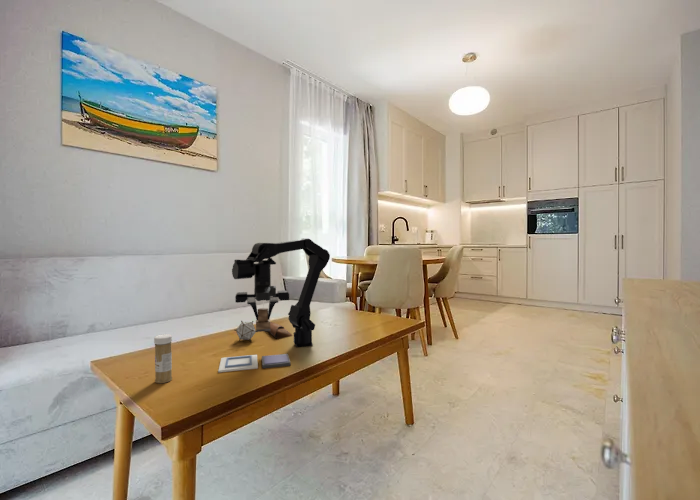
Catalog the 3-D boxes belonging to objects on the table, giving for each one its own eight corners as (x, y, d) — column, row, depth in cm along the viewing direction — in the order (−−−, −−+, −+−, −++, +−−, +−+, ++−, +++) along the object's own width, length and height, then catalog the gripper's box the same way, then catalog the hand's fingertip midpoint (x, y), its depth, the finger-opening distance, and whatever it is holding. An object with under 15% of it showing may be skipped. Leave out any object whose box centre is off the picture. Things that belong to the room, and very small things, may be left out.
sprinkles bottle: (152, 381, 101) (151, 336, 101) (168, 376, 105) (167, 332, 104) (158, 385, 98) (157, 339, 98) (175, 380, 102) (174, 335, 101)
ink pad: (287, 356, 122) (287, 353, 122) (290, 365, 113) (290, 361, 113) (261, 359, 119) (261, 355, 119) (262, 368, 111) (262, 364, 111)
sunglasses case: (294, 335, 147) (286, 323, 146) (280, 346, 145) (272, 334, 143) (280, 326, 163) (273, 315, 161) (268, 336, 160) (260, 324, 158)
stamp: (269, 327, 128) (269, 307, 128) (270, 330, 123) (270, 310, 123) (255, 328, 127) (255, 308, 126) (256, 331, 122) (255, 310, 121)
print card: (257, 356, 122) (257, 353, 122) (257, 368, 111) (257, 365, 111) (221, 359, 119) (221, 356, 119) (218, 372, 107) (218, 369, 107)
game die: (250, 348, 143) (265, 327, 145) (242, 347, 135) (258, 325, 137) (234, 336, 145) (249, 316, 147) (226, 334, 137) (241, 313, 139)
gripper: (234, 280, 114) (234, 327, 114) (290, 278, 119) (291, 323, 119) (236, 277, 125) (236, 319, 125) (287, 275, 130) (287, 316, 130)
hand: (262, 319), depth 125 cm, fingers closed on stamp, 4 cm apart
